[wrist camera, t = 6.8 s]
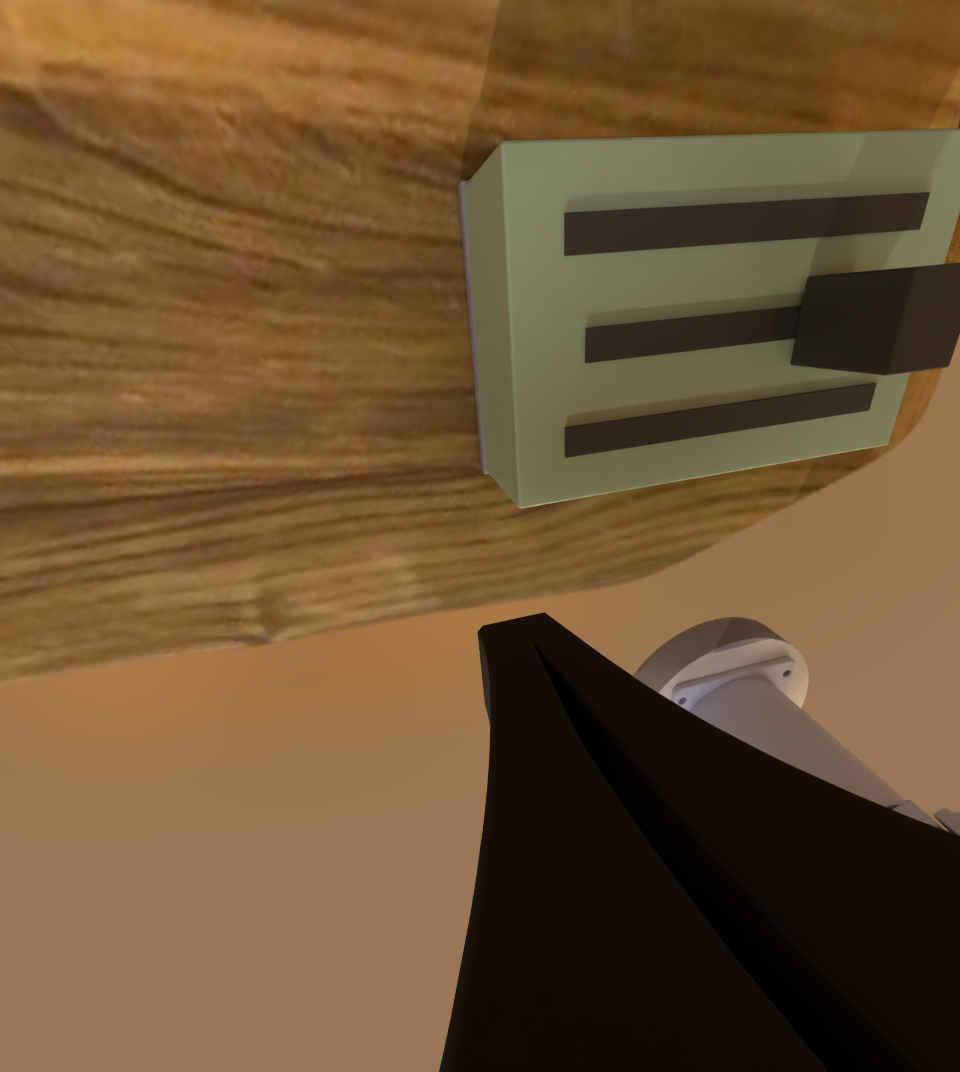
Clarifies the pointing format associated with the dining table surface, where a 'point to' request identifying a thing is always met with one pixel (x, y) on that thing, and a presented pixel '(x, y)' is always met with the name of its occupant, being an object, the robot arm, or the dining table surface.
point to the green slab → (682, 298)
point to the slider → (880, 320)
